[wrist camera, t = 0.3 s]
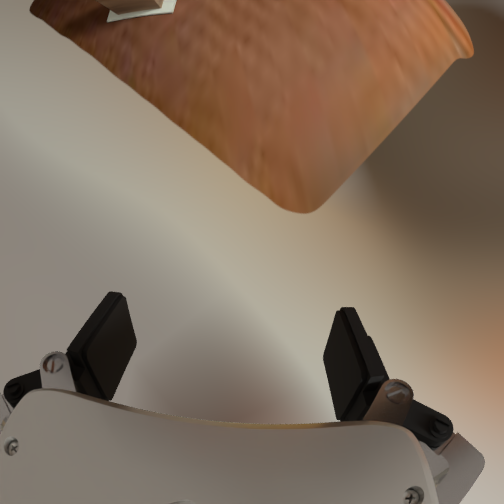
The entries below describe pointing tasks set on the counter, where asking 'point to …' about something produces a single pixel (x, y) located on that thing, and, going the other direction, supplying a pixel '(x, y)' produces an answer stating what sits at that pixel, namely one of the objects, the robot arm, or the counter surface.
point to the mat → (144, 12)
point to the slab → (130, 5)
